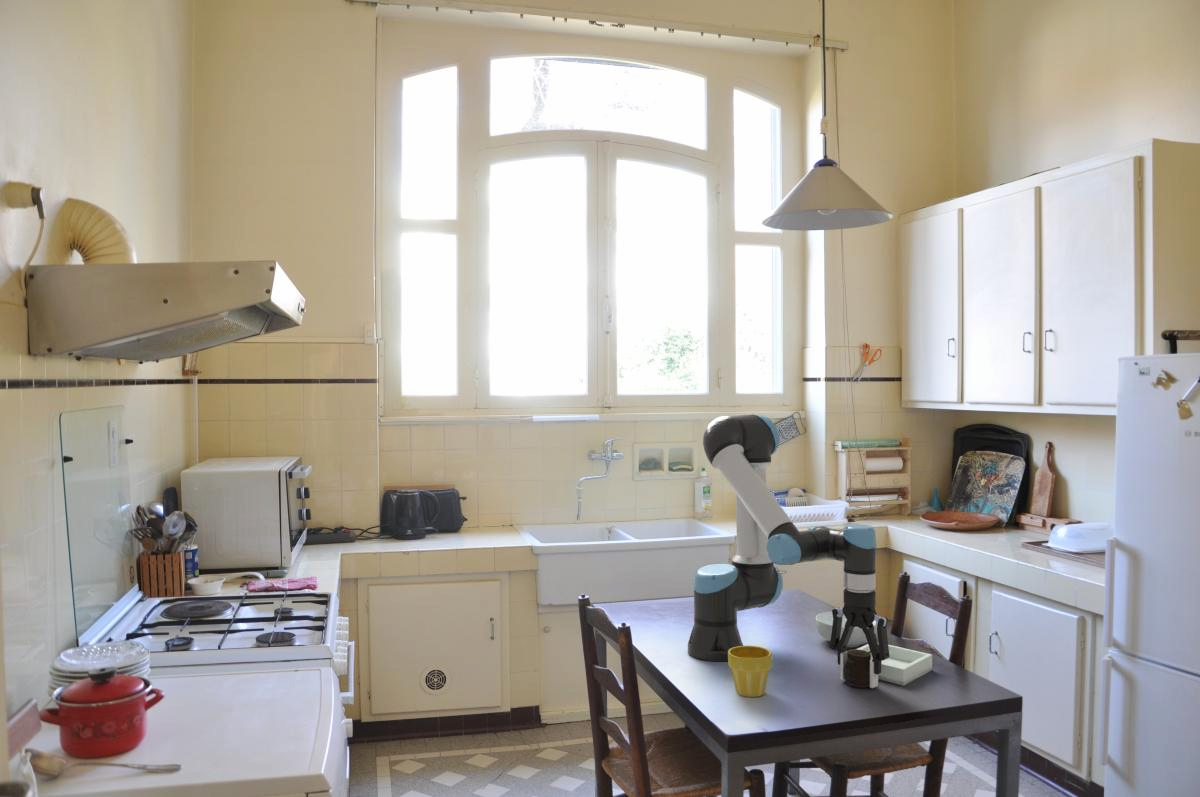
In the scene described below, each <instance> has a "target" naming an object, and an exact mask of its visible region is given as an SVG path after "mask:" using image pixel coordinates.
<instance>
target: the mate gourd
mask: <svg viewBox="0 0 1200 797" xmlns="http://www.w3.org/2000/svg"><path fill="white" fill-rule="evenodd" d="M846 651H847V657H848V658H847V661H846V664H845V666H844V677H845V682H846V683H847V684H848V685H849V686H850V687H853V688H859V689H864V688H868V687H870V660H871V654H870V653H871V651H869V652H867V651H864V650H858V648H855V649H849V650H846Z"/></svg>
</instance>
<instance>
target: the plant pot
mask: <svg viewBox="0 0 1200 797" xmlns="http://www.w3.org/2000/svg"><path fill="white" fill-rule="evenodd" d="M772 655H773V654H772V652H771V651H770V650H769V649H768V648H765V647H762V646H758V645H757V646H756V645H743V646H737V647H733V648H731V649H729V651H728V662H727V664H728V667H729V668H730V669H731V673H732V678H733V682H734V688H735V692H736V693H737V694H738V695H739V696H742V697H748V698H757V697H761V696H763V695H764V694H765V691H766V687H767V680H768V675H769V671H770V669H771V668H772V665H773V664H772V663H773V662H772V661H773V656H772Z"/></svg>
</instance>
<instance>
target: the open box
mask: <svg viewBox="0 0 1200 797" xmlns="http://www.w3.org/2000/svg"><path fill="white" fill-rule="evenodd" d="M878 645H879V643H878ZM888 647H889V658H888V659H885V660H882V662H881V673H880V674H878V681H879V680H880V681H883V682H888V683H892V684H895V685H900V686H901V687H902V686H903V687H904V686H906V685H908V684H909V683H911V682H913V681H915V680H917V679H919V678H920V677H922V676H925V675H926V674H928V673H930V672H932V671H933V654H931V653H926V652H923V651H918V650H913V649H908V648H905V647H900V646H896V645H891V644H888ZM857 649H858V650H864V651H867V652H869V651H870V648H869V645H868V643H866V644H864V645H862V646H861V647H860V646H859V647H857ZM870 654H871V653H870ZM872 659H873V657H872V654H871V660H872Z"/></svg>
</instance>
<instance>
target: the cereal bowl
mask: <svg viewBox="0 0 1200 797" xmlns="http://www.w3.org/2000/svg"><path fill="white" fill-rule="evenodd" d="M846 621H847V619H846V617H845V615H843V616H842V627H841V635H840V639H841V636H842V634H843V631H844V628H845V627H844V626H845V623H846ZM872 623H873V626H874V632H875V636H876V635H877V625H876V621H875V620H874V621H873V622H872ZM832 625H833V614H832V610H831V611H824V612H821V613H818V614H817V615H816V616H815V627H816V631H817V632H818V633H819V635H820V636H821V637H822V638H823V639H825V640H827V641H828V642H830V641H831V633H832ZM867 628H868V627H867ZM866 644H868V642H867V639H866V636H865V633H863V630H862V629H861V628H859V627H854V629H853V632H852V634H851V637H850V639H849V642H848V645H847V647H846V648H859V647H860V646H861V645H866Z"/></svg>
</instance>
